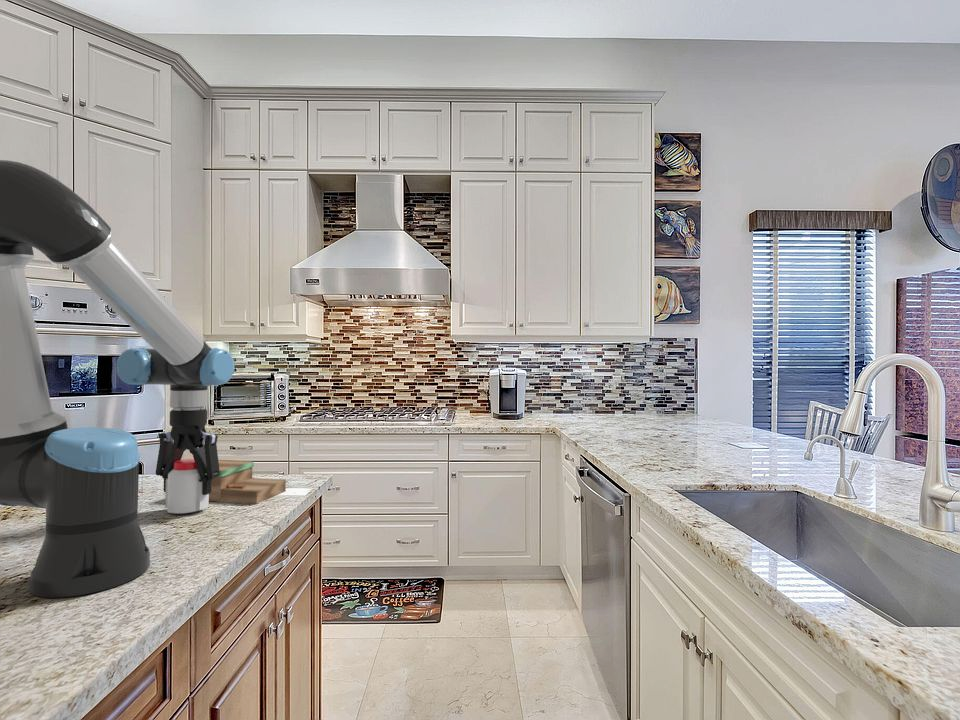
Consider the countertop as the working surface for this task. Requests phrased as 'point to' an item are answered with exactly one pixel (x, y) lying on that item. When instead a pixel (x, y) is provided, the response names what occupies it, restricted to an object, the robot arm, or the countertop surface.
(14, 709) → the countertop surface
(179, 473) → the pill bottle
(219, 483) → the stand
